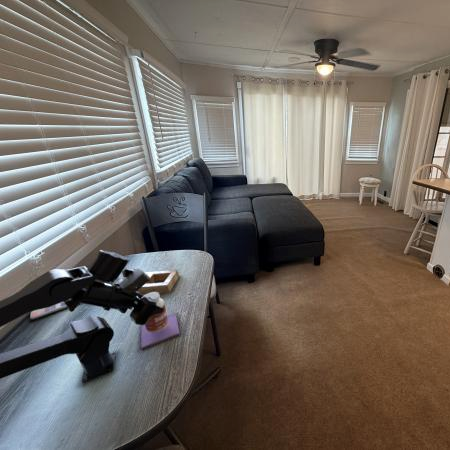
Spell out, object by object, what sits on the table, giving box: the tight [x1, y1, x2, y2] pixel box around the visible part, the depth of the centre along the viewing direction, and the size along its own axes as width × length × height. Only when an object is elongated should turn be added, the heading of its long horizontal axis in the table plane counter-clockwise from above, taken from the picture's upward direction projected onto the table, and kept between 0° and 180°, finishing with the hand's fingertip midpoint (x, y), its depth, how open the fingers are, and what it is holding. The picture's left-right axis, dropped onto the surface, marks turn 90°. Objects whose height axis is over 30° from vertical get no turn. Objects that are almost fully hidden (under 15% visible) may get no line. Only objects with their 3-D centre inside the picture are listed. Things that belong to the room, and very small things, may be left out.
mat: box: [140, 313, 180, 349], centre depth 75 cm, size 10×10×1 cm
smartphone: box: [29, 301, 67, 320], centre depth 88 cm, size 7×1×15 cm
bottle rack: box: [119, 269, 180, 295], centre depth 97 cm, size 11×20×4 cm, turn 97°
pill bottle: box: [142, 292, 169, 333], centre depth 73 cm, size 6×6×11 cm
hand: (158, 306), depth 73 cm, fingers closed on pill bottle, 6 cm apart
